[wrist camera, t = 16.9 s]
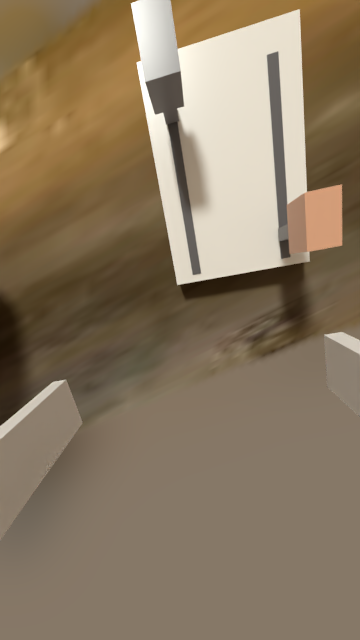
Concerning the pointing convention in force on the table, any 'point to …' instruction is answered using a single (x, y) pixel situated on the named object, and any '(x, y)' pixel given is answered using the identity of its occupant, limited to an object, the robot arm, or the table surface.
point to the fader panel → (233, 151)
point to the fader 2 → (314, 221)
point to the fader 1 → (159, 56)
